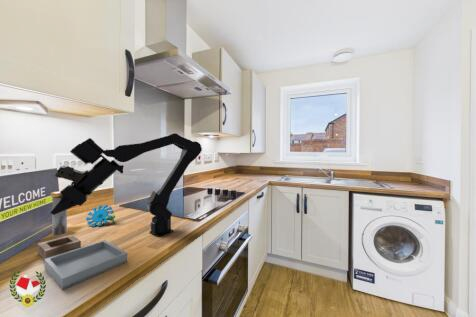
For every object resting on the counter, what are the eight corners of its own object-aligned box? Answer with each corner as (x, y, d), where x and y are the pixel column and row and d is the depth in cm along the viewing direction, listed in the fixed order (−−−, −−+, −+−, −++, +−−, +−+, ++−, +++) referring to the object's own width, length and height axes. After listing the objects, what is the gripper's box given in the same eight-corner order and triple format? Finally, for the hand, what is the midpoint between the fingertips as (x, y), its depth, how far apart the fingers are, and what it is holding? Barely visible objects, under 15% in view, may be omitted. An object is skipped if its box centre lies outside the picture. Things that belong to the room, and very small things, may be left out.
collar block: (71, 243, 65) (71, 234, 65) (80, 250, 61) (80, 240, 60) (37, 253, 58) (37, 243, 58) (45, 261, 54) (45, 251, 54)
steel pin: (65, 229, 62) (65, 190, 62) (70, 232, 60) (69, 192, 60) (49, 233, 59) (49, 192, 58) (53, 236, 57) (53, 194, 56)
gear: (79, 223, 79) (95, 202, 86) (86, 229, 83) (100, 208, 90) (105, 227, 79) (119, 206, 85) (111, 233, 83) (123, 212, 90)
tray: (104, 247, 62) (104, 239, 62) (127, 261, 55) (127, 252, 55) (44, 268, 51) (44, 259, 51) (62, 290, 43) (62, 278, 43)
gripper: (80, 156, 69) (37, 189, 63) (70, 157, 53) (11, 202, 47) (107, 177, 73) (69, 210, 67) (105, 184, 57) (55, 228, 52)
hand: (53, 212), depth 58 cm, fingers closed on steel pin, 3 cm apart
